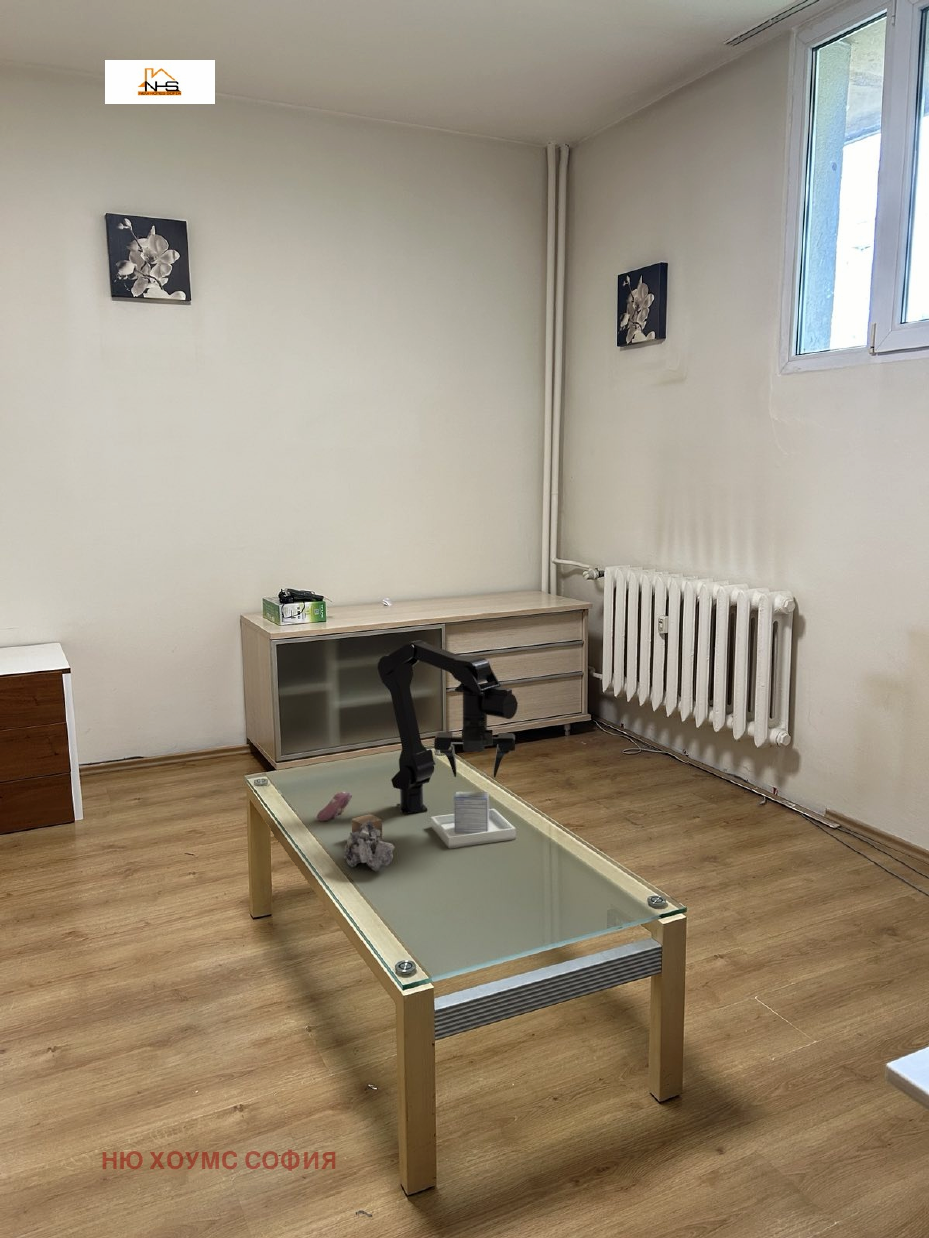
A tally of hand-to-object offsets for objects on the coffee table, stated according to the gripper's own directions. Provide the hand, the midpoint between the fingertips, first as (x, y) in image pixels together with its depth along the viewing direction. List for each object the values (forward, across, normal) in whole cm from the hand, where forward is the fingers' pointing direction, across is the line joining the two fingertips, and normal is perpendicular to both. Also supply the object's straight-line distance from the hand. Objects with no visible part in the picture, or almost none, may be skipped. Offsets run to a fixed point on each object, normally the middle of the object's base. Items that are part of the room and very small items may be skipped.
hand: (475, 776), depth 217 cm
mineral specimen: (+13, -22, -23) cm, 34 cm away
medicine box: (+12, -1, -4) cm, 13 cm away
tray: (+12, 0, -4) cm, 13 cm away
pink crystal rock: (+13, -35, +7) cm, 38 cm away
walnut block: (+13, -24, -9) cm, 29 cm away
